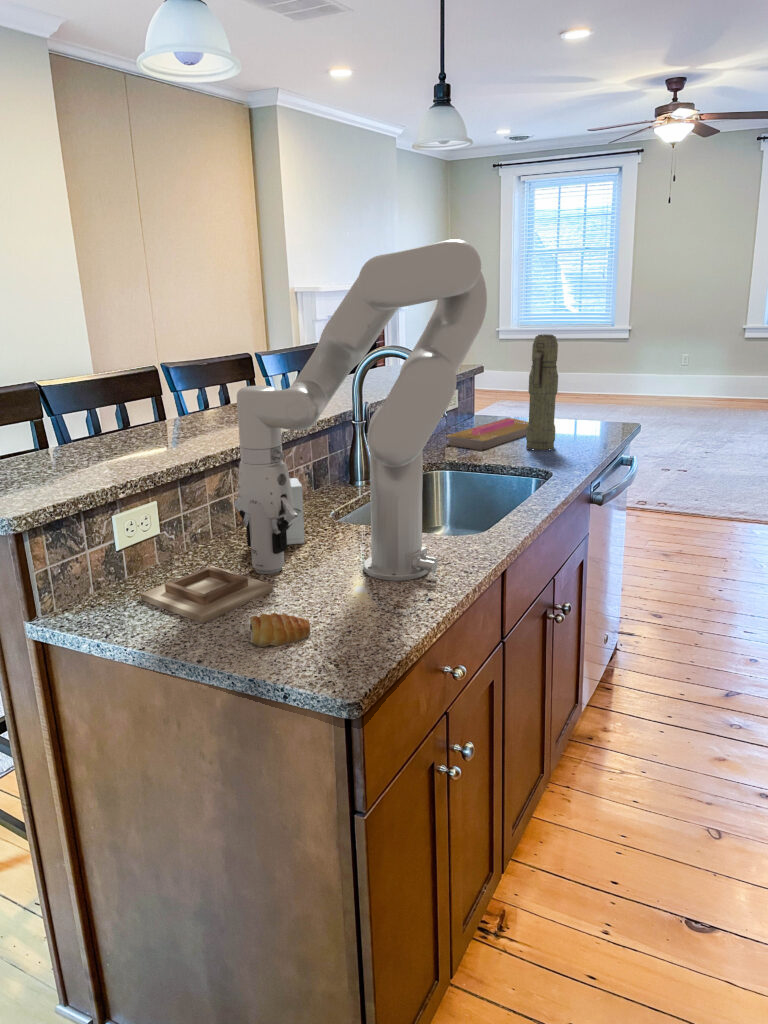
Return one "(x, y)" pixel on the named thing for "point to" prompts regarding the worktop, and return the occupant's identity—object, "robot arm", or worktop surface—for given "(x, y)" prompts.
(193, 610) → the board
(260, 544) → the energy drink can
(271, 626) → the pastry
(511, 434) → the pink-striped tan slab
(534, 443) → the olive stone tall figure
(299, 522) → the supplement box
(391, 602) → the worktop surface
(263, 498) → the robot arm
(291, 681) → the worktop surface
